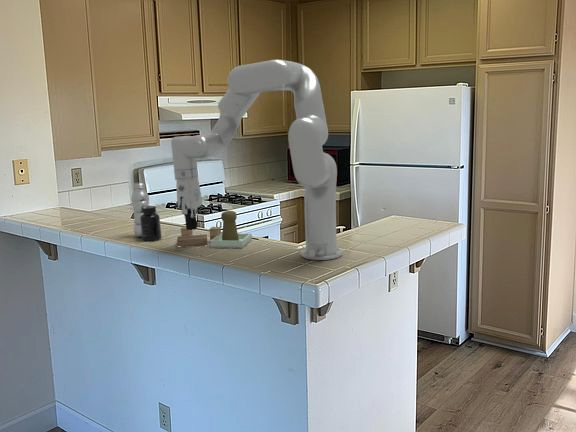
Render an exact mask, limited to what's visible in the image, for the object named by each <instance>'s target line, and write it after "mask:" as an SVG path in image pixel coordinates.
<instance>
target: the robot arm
mask: <svg viewBox="0 0 576 432" xmlns="http://www.w3.org/2000/svg"><path fill="white" fill-rule="evenodd" d="M226 81H227V82H226V83H227V87H228V89H227V91H226V92H225V94H223V96H222V98H221V99H220V100H219V101H218V104H217V108H218V110H219V118H218V120H217V121H216V123H215V124H214V126H213V128H212V129H211V130H210V131H209V132H208V133H203V134H196V135H193V136H191V135H183V136H174V137H172V138H171V140H170V141H171V142H170V144H171V145H170V146H171V153H172V155H171V156H172V163H173V172H174V180H175V181H176V201H177V207H178V208H177V209H179V210H180V211H181V214H182V215H184V219H185V220H184V221H185V227H186V229H187V230H192V231H195V230H196V229H198V223H197V210H198V208H199V207H201V206H202V204H203V200H202V193H201V185H200V181H199V172H198V162H197V159H198V160H199V159H200V160H202V159H207V158H210V157H211V158H212V157H216V156H218V155H221V153H222V152H223V151H224V150H226V148H227V147H228V145H229V144H230V143H231V141H232V140H233V139H234V137H235V135H236V133H237V131H238V130H239V127H240V123H241V121H242V119H243V117H244V116H245V114H247V112H248V111H249V109H250V108H251V107H252V105H253V104H254V102H255V101H256V100H257V98H259V95H260V94H261V93H266V92H267V93H269V92H274V91H290V92H292V93H293V107H294V110H295V115H296V116H295V117H296V119H295V120H294V121H293V122H292V123H291V124H290V127H289V130H288V134H287V135H288V137H287V139H288V145H289V151H290V153H289V154H290V157H291V165H292V169H293V174H294V177H295V180H296V181H297V183H298V184H299V185H300V186H302V187H304V194H303V195H304V228H305V230H304V231H305V233H304V234H305V248H304V249H302V250H301V251H300V256H301V257H302V258H304V259H307V260H312V261H326V260H329V261H330V260H334V259H337V258H339V257H341V256H342V255H343V251H342V250H341V249H340V248H338V244H337V241H338V240H337V195H336V194H337V192H336V191H337V180H338V179H337V178H338V177H337V176H338V168H337V167H338V166H337V164H336V163H337V162H336V161H335V159H334V158H333V157H332V156H331V155H330V154H329V153H326V152H324V150H323V145H325V144H326V142H327V140H328V138H329V129H328V123H327V117H326V112H325V111H326V110H325V106H324V101H323V96H322V95H323V94H322V90H321V88H322V87H321V85H320V82H319V81H320V80H319V79H318V77H317V75H316V74H315V72H314V71H313V70H312V69H311V68H310V67H308V66H306V65H304V64H301V63H299V62H294V61H292V60H291V61H289V60H284V59H271V60H265V61H259V62H255V63H247V64H242V65H241V64H240V65H237V66H236V67H234V68H233V69H231V71H229V73H228V75H227V80H226Z"/></svg>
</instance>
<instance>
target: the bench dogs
mask: <svg viewBox="0 0 576 432" xmlns="http://www.w3.org/2000/svg"><path fill="white" fill-rule="evenodd" d="M221 228H222V227H221V226H212V227H210V228H209V241H210V240H212V239H213V238H215V237H216V236H219V235H220V234H221V233H222V231H221V230H222V229H221ZM189 235H194V233H193V230H187V229H186V226H182V227H181V228H180V236H189Z"/></svg>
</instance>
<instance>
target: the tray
mask: <svg viewBox="0 0 576 432" xmlns="http://www.w3.org/2000/svg"><path fill="white" fill-rule="evenodd" d="M237 233H238V238H239V241H227V240H222V232H221V234H220V235H219V236H216V237H215V238H213V239H212V240H210V239H209V246H210V247H209V248H210V249H244V248H246V246H247V245H248V244H250V243H251V242H252V241H253V239H252V237H253V236H252V233H241V232H240V233H239V232H237Z"/></svg>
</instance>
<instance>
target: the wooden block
mask: <svg viewBox="0 0 576 432" xmlns="http://www.w3.org/2000/svg"><path fill="white" fill-rule="evenodd" d="M176 242H177V243H176V244H177V248H178V246H195V247H206V246H205V245H207V246H208V233H207V234H205V233H204V234H193V235H189V236H181V235H177V239H176Z"/></svg>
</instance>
